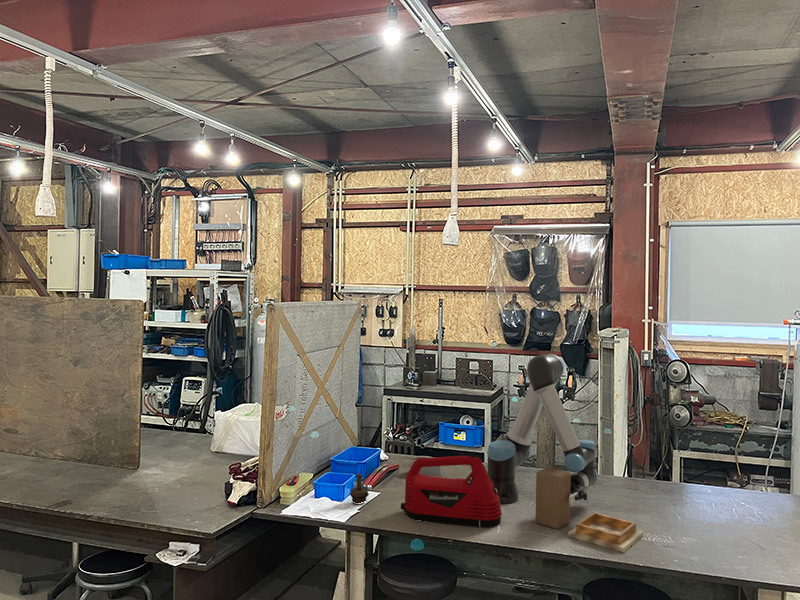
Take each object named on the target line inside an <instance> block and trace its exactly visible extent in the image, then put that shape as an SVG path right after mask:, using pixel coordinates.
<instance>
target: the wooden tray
mask: <svg viewBox="0 0 800 600" xmlns="http://www.w3.org/2000/svg"><path fill="white" fill-rule="evenodd" d="M567 534H568V536H569V538H572V539H575V538H576V539H575V540H579V541H582V542H586V541H587V542H586V543H589V542H590V543H589V544H593V545H596V544H597V546H599V545H601V546H600V547H603V546H604V548H606V547H608V548H607V549H611V550H613V551H617V552H620V551H621V552H620V553H625V552H626V551H627V550H628V549H630V548H631V547H632V546H633V545H634V544H635V543H637V542H638V540H640V539H641V538H642V537H643V536H644V531H643V530H640V529H637V523H636V522H633V521H629V520H624V519H622V518H619V517H618V518H617V517H613V516H609V515H606V514H602V513H598V512H592V513H590V514H589V515H587V516H586V517H585V518H582V520H579V522H577V523H575V527H574V528H573V529H571V530H569V531H568V533H567ZM568 536H567V537H568ZM631 545H632V546H631ZM630 546H631V547H630Z"/></svg>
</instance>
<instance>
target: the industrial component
mask: <svg viewBox="0 0 800 600" xmlns="http://www.w3.org/2000/svg"><path fill="white" fill-rule="evenodd" d="M369 495H370V493H369V490H368V489H367V488H364V487H363V474H362V473H357V474H356V487H354V488H351V489H350V492H349V496H350V497H351V502H352V501H353V502H355V503H361V502H364V501H366V502H367V497H368V496H369Z"/></svg>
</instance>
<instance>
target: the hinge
mask: <svg viewBox="0 0 800 600" xmlns="http://www.w3.org/2000/svg"><path fill="white" fill-rule="evenodd" d="M418 458H433V456H429V455H428V456H427V455H419V456H414V457H411V459H410V463H409V464H410V465H409V470H410V469H411V467H412V465H413V463H414V461H415V460H417V459H418ZM419 473H420V474H422V475H430V476H440V477H444V474H445V471H444V466H434V467H422V468H421V469H420V471H419Z"/></svg>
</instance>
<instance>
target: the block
mask: <svg viewBox="0 0 800 600" xmlns="http://www.w3.org/2000/svg"><path fill="white" fill-rule="evenodd" d="M571 474H572V472H571V471H569V470H564V469H563V470H562V469H559V468H555V467H549V466H548V467H546V468H543V469H540V470H537V471H536V475H535V519H534V520H535V523H536V524H540V525H543V526H546V527H549V528H551V529H555V530H559V529H561V528H563V527H565V526H566V525H568V524H569V523H570V521H571V504H569V496H571V494H570V483H571Z"/></svg>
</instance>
